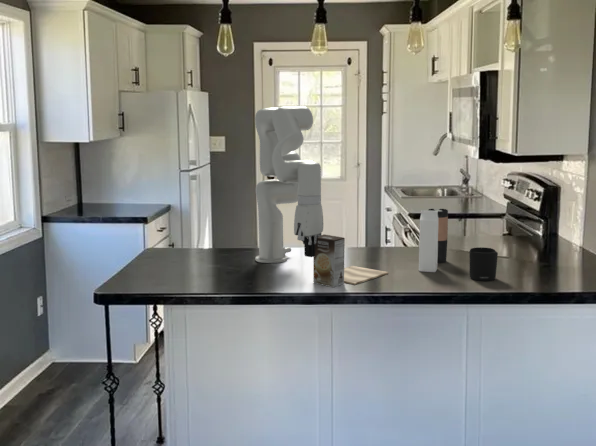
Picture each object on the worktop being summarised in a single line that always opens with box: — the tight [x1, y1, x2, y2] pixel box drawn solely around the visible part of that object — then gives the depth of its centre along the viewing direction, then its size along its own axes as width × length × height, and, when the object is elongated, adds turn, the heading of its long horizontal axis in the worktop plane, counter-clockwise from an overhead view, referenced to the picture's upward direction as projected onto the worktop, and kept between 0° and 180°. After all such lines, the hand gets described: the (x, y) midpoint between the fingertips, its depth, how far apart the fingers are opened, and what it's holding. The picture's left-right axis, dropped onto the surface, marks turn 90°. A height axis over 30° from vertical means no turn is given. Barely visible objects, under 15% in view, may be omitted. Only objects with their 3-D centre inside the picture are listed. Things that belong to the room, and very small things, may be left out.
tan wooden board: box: [344, 265, 389, 286], centre depth 243 cm, size 20×16×1 cm
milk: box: [418, 209, 438, 273], centre depth 249 cm, size 6×6×22 cm
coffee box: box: [312, 234, 346, 288], centre depth 231 cm, size 9×6×16 cm
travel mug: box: [428, 208, 449, 264], centre depth 263 cm, size 8×8×20 cm
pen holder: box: [468, 247, 499, 282], centre depth 237 cm, size 9×9×10 cm
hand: (309, 256), depth 223 cm, fingers closed
